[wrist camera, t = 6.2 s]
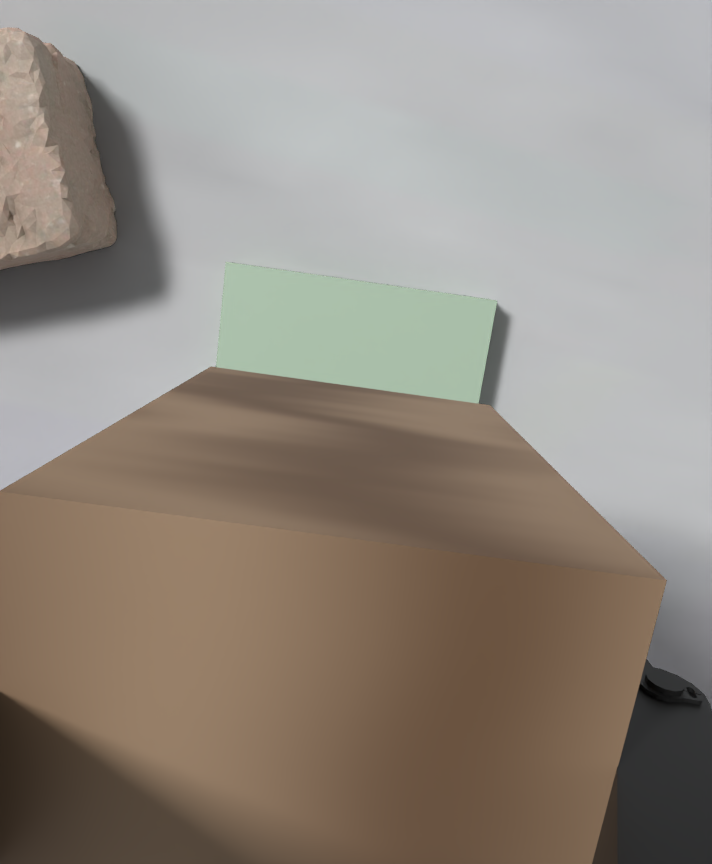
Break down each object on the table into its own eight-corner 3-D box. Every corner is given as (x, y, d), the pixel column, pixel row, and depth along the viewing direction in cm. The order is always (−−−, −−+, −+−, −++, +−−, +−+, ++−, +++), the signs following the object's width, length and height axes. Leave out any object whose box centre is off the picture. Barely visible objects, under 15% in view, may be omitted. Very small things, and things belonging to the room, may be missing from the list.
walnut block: (188, 621, 18) (-12, 1017, 8) (210, 366, 17) (-2, 491, 7) (443, 655, 18) (535, 1081, 9) (490, 405, 17) (667, 580, 7)
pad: (207, 511, 33) (201, 520, 32) (231, 262, 30) (225, 262, 29) (447, 543, 33) (451, 553, 32) (492, 299, 31) (497, 300, 30)
